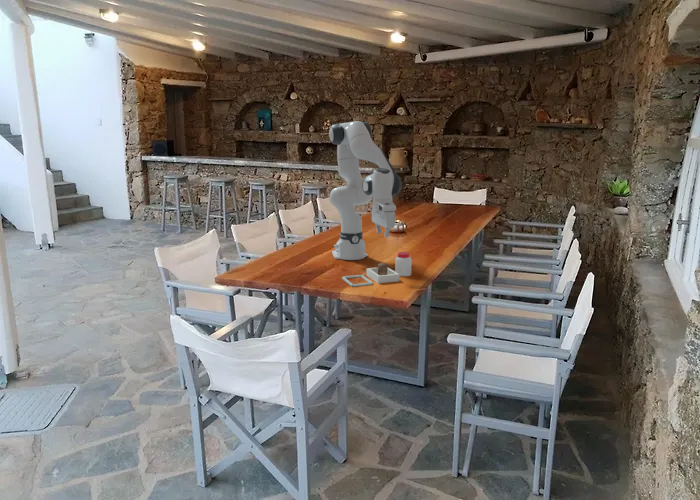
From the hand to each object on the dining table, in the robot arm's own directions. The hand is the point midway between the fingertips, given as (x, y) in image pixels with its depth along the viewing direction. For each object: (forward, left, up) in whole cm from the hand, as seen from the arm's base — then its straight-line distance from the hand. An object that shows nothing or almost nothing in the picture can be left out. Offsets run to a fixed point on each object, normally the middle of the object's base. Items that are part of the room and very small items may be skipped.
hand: (382, 235), depth 244 cm
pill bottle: (-3, +12, -21) cm, 25 cm away
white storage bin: (0, 0, -21) cm, 21 cm away
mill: (0, 0, -20) cm, 20 cm away
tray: (+1, -13, -21) cm, 25 cm away
